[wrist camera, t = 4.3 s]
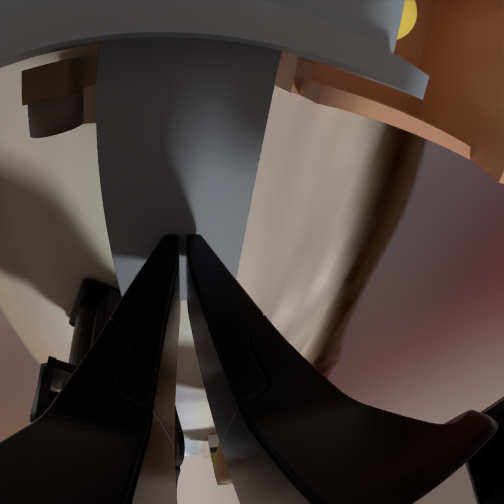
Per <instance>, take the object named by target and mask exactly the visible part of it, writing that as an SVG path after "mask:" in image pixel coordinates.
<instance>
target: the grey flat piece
mask: <svg viewBox="0 0 504 504" xmlns="http://www.w3.org/2000/svg"><path fill="white" fill-rule="evenodd" d="M404 3H405V0H0V68H1V67H4V66H7V65H9V64H12V63H15V62H18V61H21V60H25V59H28V58H31V57H35V56H39V55H42V54H46V53H50V52H55V51H59V50H64V49H69V48H74V47H80V46H86V45H92V44H99V52H98V65H97V84H96V129H97V149H98V163H99V174H100V183H101V192H102V200H103V207H104V214H105V220H106V226H107V232H108V237H109V243H110V248H111V253H112V257H113V262H114V266H115V271H116V275H117V279H118V283H119V287H120V291H121V295H122V296H123V295H124V293H125V292H126V290H127V289H128V287H129V286H130V284H131V282H132V281H133V279H134V278H135V276H136V275H137V273H138V272H139V270H140V269H141V267H142V266H143V265H144V263H145V262H146V260H147V259H148V257H149V256H150V254H151V253H152V252H153V250H154V249H155V247H156V246H157V244H158V243H159V242H160V240H161V239H162V237H163V236H164V235H165V234H178V235H179V269H180V301H181V300H186V299H187V289H186V236H187V235H188V234H200V235H202V237H203V238H204V239H205V240H206V242H207V243H208V244H209V246H210V247H211V248H212V249H213V251H214V252H215V253H216V255H217V256H218V257H219V258H220V260H221V261H222V262H223V264H224V265H225V266H226V267H227V269H228V270H229V271H230V272H231V274H232V275H233V276H234V278H235V279H236V277H237V272H238V266H239V261H240V256H241V250H242V245H243V240H244V235H245V230H246V224H247V219H248V214H249V209H250V204H251V199H252V194H253V189H254V183H255V178H256V173H257V168H258V163H259V158H260V153H261V148H262V144H263V139H264V134H265V129H266V124H267V119H268V114H269V109H270V104H271V100H272V95H273V90H274V85H275V81H276V76H277V71H278V66H279V62H280V57H281V53H285V54H289V55H293V56H297V57H301V58H305V59H309V60H312V61H316V62H319V63H323V64H326V65H329V66H332V67H335V68H338V69H341V70H344V71H347V72H350V73H353V74H355V75H358V76H361V77H363V78H366V79H369V80H372V81H375V82H378V83H381V84H384V85H387V86H390V87H392V88H395V89H397V90H400V91H402V92H405V93H407V94H410V95H412V96H415V97H417V98H419V99H421V100H423V97H424V93H425V90H426V87H427V83H428V80H429V76H428V75H427V74H426V73H424V72H423V71H421V70H420V69H418V68H417V67H415V66H414V65H412V64H411V63H409V62H407V61H406V60H404V59H402V58H401V57H399V56H398V55H396V54H394V49H395V45H396V41H397V37H398V32H399V28H400V23H401V18H402V13H403V8H404Z"/></svg>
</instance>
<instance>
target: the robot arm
mask: <svg viewBox="0 0 504 504" xmlns="http://www.w3.org/2000/svg"><path fill="white" fill-rule="evenodd" d="M186 289H187V307H188V314H189V320H190V325H191V330H192V335H193V339H194V344H195V349H196V353H197V358H198V362H199V366H200V371H201V375H202V379H203V383H204V387H205V391H206V395H207V399H208V403H209V407H210V410H211V414H212V418H213V421H214V425H215V428H216V432H217V435H218V438H219V442H220V443H221V444H220V445H221V448H222V452H223V455H224V458H225V461H226V464H227V467H228V470H229V473H230V476H231V479H232V482H233V485H234V488H235V490H236V493H237V496H238V499H239V501H240V504H504V397H502V398H501V399H500V400H498V401H497V402H495V403H494V404H492V405H491V406H489V407H487V408H486V409H485V410H483V411H481V412H477V411H474V410H469V411H466V412H465V413H463V414H461V415H459V416H457V417H455V418H454V419H452V420H450V421H448V422H446V423H444V424H435V423H429V422H425V421H421V420H417V419H413V418H410V417H406V416H402V415H399V414H395V413H392V412H388V411H385V410H382V409H378V408H375V407H372V406H369V405H366V404H363V403H361V402H358V401H356V400H354V399H352V398H350V397H349V396H347V395H346V394H345V393H343V392H342V391H341V390H339V389H338V388H337V387H336V386H335V385H333V384H332V383H331V382H330V381H329V380H328V379H327V378H326V377H325V376H324V375H322V374H321V373H320V372H319V371H318V370H317V369H316V368H315V367H314V366H313V365H312V364H310V363H309V362H308V361H307V360H306V359H305V358H304V357H303V356H302V355H301V354H300V353H299V352H298V351H297V350H296V349H295V348H294V347H293V346H292V345H291V344H290V343H289V342H288V341H287V340H286V339H285V338H284V337H283V336H282V335H281V334H280V333H279V331H278V330H277V329H276V328H275V327H274V326H273V324H272V323H271V322H270V321H269V320H268V318H267V317H266V316H265V315H263V312H262V311H261V310H260V309H259V307H258V306H257V305H256V304H255V302H254V301H253V300H252V299H251V298H250V296H249V295H248V294H247V293H246V291H245V290H244V289H243V288H242V286H241V285H240V284H239V283H238V281H237V280H236V279H235V278H234V276H233V275H232V274H231V272H230V271H229V270H228V269H227V267H226V266H225V265H224V264H223V262H222V261H221V260H220V258H219V257H218V256H217V255H216V253H215V252H214V251H213V249H212V248H211V247H210V246H209V244H208V243H207V242H206V240H205V239H204V238H203V237H202V235H200V234H188V235H187V236H186ZM179 323H180V269H179V235H178V234H165V235H164V236H163V237H162V239H161V240H160V242H159V243H158V244H157V246H156V247H155V249H154V250H153V252H152V253H151V254H150V256H149V257H148V259H147V260H146V262H145V263H144V265H143V266H142V267H141V269H140V270H139V272H138V273H137V275H136V276H135V278H134V279H133V281H132V282H131V284H130V286H129V287H128V289H127V290H126V292H125V293H124V295H123V296H122V295H121V291H119V290H117V289H114V288H111V287H109V286H106V285H104V284H101V283H99V282H96V281H94V280H91V279H88V278H87V279H84V280H83V281H82V284H81V287H80V289H79V292H78V295H77V298H76V301H75V304H74V307H73V310H72V313H71V316H70V320H69V324H70V325H71V326H73V327H75V328H74V333H73V338H72V344H71V350H70V357H69V363H66V362H63V361H60V360H56V358H54V357H51V356H49V358H48V362H47V363H44V364H41V368H40V374H39V381H38V386H37V390H36V394H35V397H34V401H33V406H32V410H31V415H30V422H31V424H30V425H28V426H26V427H25V428H23V429H21V430H20V431H18V432H16V433H15V434H13V435H11V436H10V437H8V438H6V439H5V440H3V441H1V442H0V504H177V480H178V476H179V474H180V466H181V464H182V462H183V459H184V452H185V444H184V435H183V431H182V428H181V424H180V421H179V417H178V414H177V410H176V406H175V395H176V370H177V352H178V337H179ZM57 389H60V390H61V391H60V392H57Z"/></svg>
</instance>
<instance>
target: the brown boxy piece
mask: <svg viewBox="0 0 504 504" xmlns="http://www.w3.org/2000/svg"><path fill="white" fill-rule="evenodd" d="M415 2H416V6H417V19H416V22H415V24H414V26H413V28H412V29H411V31H410V32H409V33H408V34H407V35H405V36H404V37H402V38H400V39H398V40H397V41H396V45H395V49H394V54H396V55H398V56H399V57H401V58H402V59H404V60H406V61H407V62H409V63H411V64H412V65H414V66H415V67H417V68H418V69H420V70H421V71H423V72H424V73H426V74H427V75H428V76H429V80H428V83H427V87H426V90H425V93H424V97H423V100H421V99H419V98H417V97H415V96H412V95H410V94H407V93H405V92H402V91H400V90H397V89H395V88H392V87H390V86H387V85H384V84H381V83H378V82H375V81H372V80H369V79H366V78H363V77H361V76H358V75H355V74H353V73H350V72H347V71H344V70H341V69H338V68H335V67H332V66H329V65H326V64H323V63H319V62H316V61H312V60H309V59H305V58H301V57H297V56H293V55H289V54H285V53H281V57H280V62H279V66H278V71H277V76H276V81H275V86H278V87H280V88H282V89H284V90H286V91H288V92H290V93H295V94H299V95H301V96H303V97H305V98H307V99H309V100H311V101H313V102H315V103H318V104H322V105H326V106H330V107H334V108H338V109H342V110H345V111H349V112H352V113H356V114H359V115H362V116H366V117H369V118H372V119H375V120H378V121H381V122H384V123H387V124H390V125H392V126H395V127H398V128H401V129H403V130H406V131H408V132H411V133H414V134H416V135H418V136H421V137H423V138H426V139H428V140H430V141H433V142H435V143H437V144H439V145H441V146H444V147H446V148H448V149H450V150H452V151H454V152H456V153H458V154H460V155H462V156H464V157H466V158H468V159H470V160H471V161H473V162H474V163H475V164H477V165H478V166H479V167H481V168H482V169H483V170H485V171H486V172H487V173H488V174H490V175H491V176H492V177H493V178H495V179H496V180H497V181H498V182H500V183H502V184H503V183H504V0H415Z"/></svg>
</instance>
